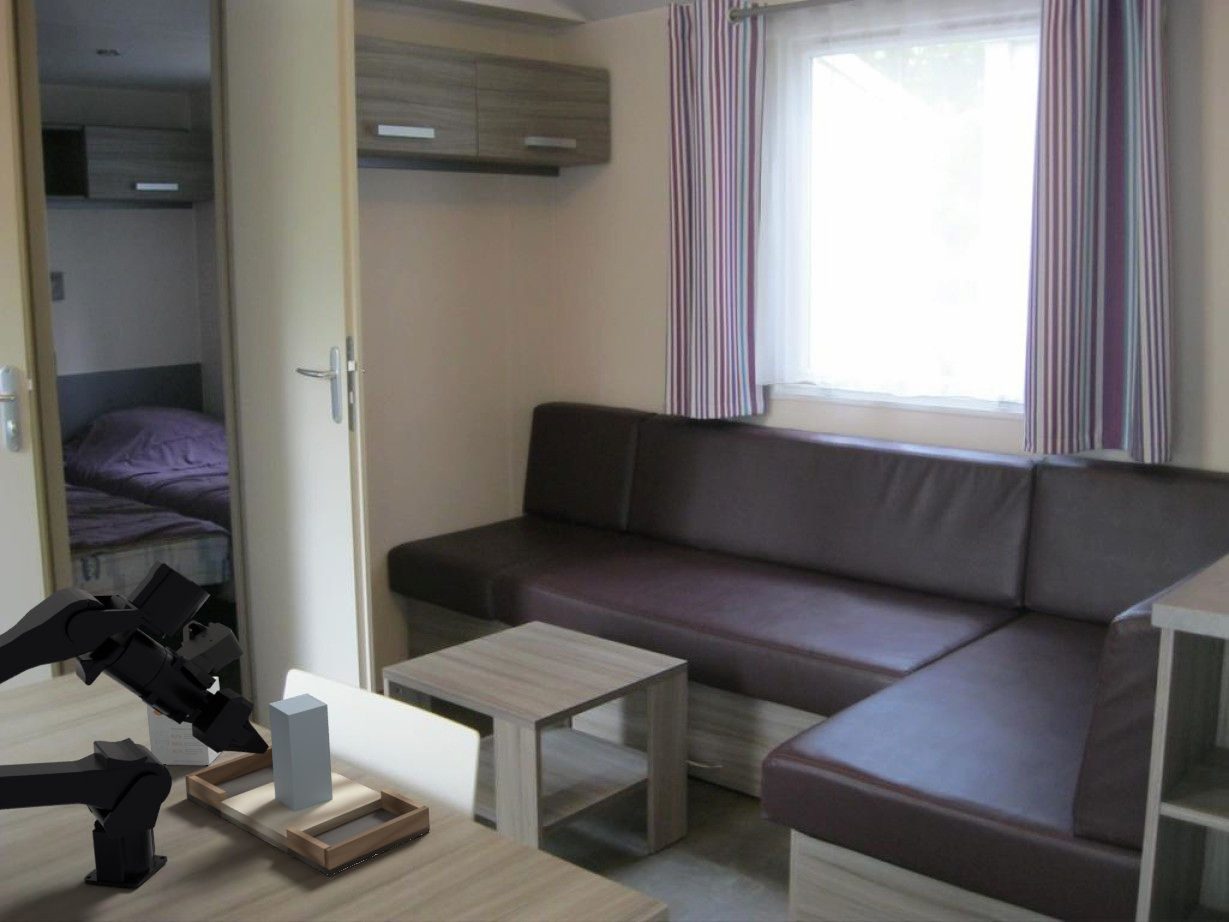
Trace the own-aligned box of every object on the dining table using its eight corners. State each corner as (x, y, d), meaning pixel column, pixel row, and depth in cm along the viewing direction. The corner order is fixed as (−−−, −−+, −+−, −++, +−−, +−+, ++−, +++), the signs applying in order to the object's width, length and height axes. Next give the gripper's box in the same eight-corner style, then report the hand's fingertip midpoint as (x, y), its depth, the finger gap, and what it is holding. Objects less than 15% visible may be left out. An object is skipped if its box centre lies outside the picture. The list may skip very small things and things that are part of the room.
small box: (225, 749, 177) (220, 676, 175) (209, 767, 171) (203, 690, 169) (169, 748, 177) (163, 674, 176) (150, 765, 172) (144, 689, 170)
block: (332, 799, 156) (327, 704, 154) (294, 811, 153) (288, 715, 151) (312, 786, 160) (307, 693, 158) (275, 798, 157) (268, 703, 155)
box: (429, 831, 152) (428, 807, 151) (329, 876, 142) (328, 851, 141) (283, 763, 172) (282, 741, 171) (186, 798, 162) (185, 775, 161)
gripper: (230, 626, 137) (329, 701, 146) (160, 590, 151) (255, 660, 160) (162, 716, 134) (268, 786, 143) (97, 670, 148) (197, 737, 157)
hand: (247, 738), depth 151 cm, fingers open, 9 cm apart
